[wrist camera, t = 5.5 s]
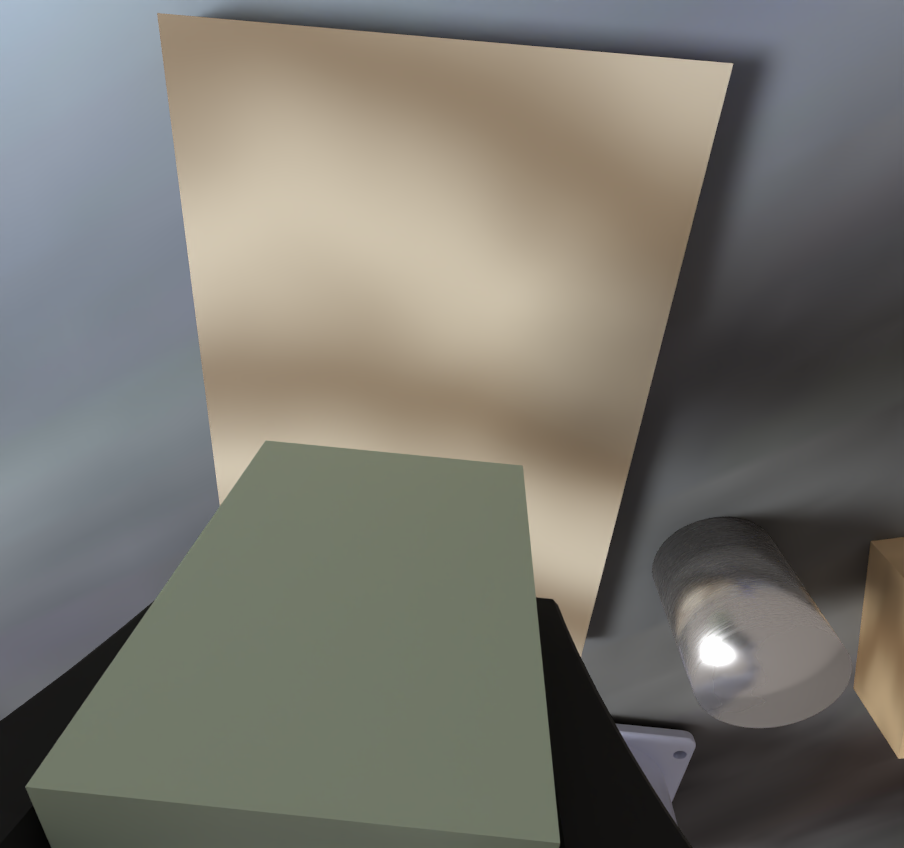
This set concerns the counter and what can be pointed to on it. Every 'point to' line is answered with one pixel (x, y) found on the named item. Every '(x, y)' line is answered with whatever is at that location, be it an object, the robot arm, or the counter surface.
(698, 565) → the metal cylinder
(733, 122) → the counter surface
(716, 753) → the counter surface
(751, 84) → the counter surface
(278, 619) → the sage block
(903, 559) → the oak slab
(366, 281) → the birch board
